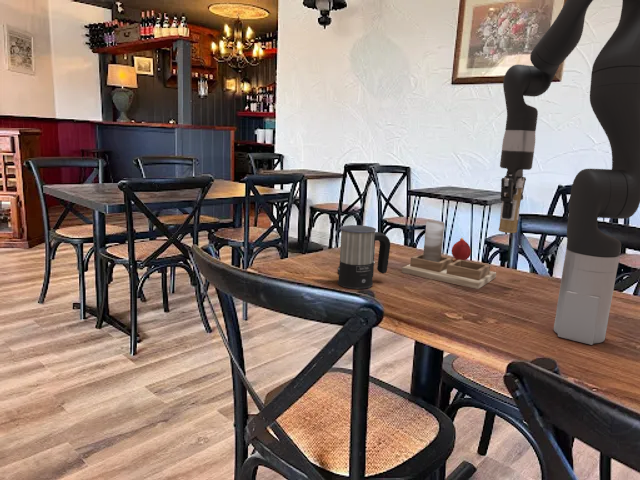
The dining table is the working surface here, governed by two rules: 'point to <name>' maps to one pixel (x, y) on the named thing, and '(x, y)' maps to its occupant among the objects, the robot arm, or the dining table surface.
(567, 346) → the dining table surface
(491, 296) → the dining table surface
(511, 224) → the sprinkles bottle
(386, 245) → the milk frother
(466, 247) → the onion
